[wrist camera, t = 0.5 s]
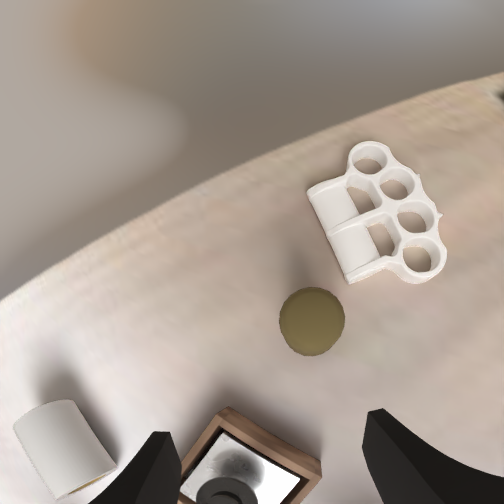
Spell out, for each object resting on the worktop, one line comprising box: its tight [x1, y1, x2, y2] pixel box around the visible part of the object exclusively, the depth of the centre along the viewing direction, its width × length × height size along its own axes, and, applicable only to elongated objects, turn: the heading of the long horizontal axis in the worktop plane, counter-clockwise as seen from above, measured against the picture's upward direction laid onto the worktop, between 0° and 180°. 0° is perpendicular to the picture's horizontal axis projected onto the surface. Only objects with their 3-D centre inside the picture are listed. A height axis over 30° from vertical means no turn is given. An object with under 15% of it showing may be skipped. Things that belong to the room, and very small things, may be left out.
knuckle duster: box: [307, 141, 447, 284], centre depth 35 cm, size 3×18×15 cm
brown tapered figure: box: [279, 287, 345, 356], centre depth 28 cm, size 6×6×11 cm
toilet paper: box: [13, 399, 118, 500], centre depth 28 cm, size 10×10×10 cm
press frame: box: [177, 406, 322, 504], centre depth 27 cm, size 12×12×5 cm
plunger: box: [180, 431, 300, 504], centre depth 23 cm, size 9×9×6 cm
